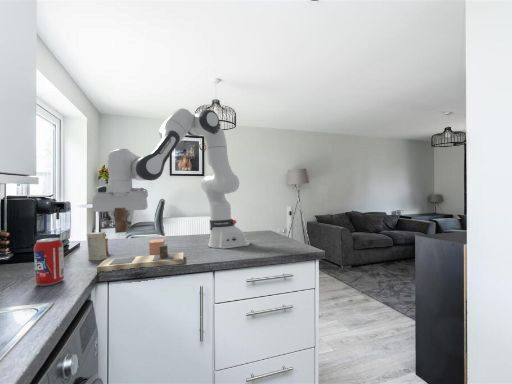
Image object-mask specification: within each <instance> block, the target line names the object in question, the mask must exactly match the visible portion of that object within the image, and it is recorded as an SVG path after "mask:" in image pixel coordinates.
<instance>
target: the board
mask: <svg viewBox="0 0 512 384" xmlns="http://www.w3.org/2000/svg"><path fill="white" fill-rule="evenodd" d="M129 257H130V256H126V257H124V258H129ZM134 257H135V259H134V260H133V261H132V263H124V264H113V265H109V264H110V263H111V262H112V261H113V260H114V259H117V258H118V257H117V258H106V259H103V261H102V262H101V263H99V264H98V265H97V266H96V273H103V272H102V271H104V272H113V271H112V270H114V271H121V270H120V269H124V270H131V269H130V268H135V269H141V268H140V267H145V268H154V267H162V266H163V267H164V266H173V265H174V266H175V265H183V264H184V252H183V251H182V252H174V253H168V244H164V245H160V254H159V255H150V254H148V255H138V256H137V255H136V256H134ZM100 271H101V272H100Z"/></svg>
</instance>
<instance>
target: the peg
mask: <svg viewBox="0 0 512 384" xmlns="http://www.w3.org/2000/svg"><path fill="white" fill-rule="evenodd" d="M126 217H129V210H128V211H126V208H115V211H114V218H115V222H114V233H115V234H118V233H119V234H120V233H122V234H123V233H127V232H128V231H129V222H127V221H126V220H127V219H126Z"/></svg>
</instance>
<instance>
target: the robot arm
mask: <svg viewBox="0 0 512 384" xmlns="http://www.w3.org/2000/svg"><path fill="white" fill-rule="evenodd" d="M220 122H221V120H220V118H219V116H218V114H217V113H216V112H215V111H214V110H212V109H204V110H201V111H198V112H196V113H194V114H193V113H192V112H191V111H190V110H189V109H186V108H182V107H181V108H179V109H177V110H175V111H174V112H172V114H170V115H169V117H168V118H166V120H165V121H163V123H162V125H161V127H160V128H159V130H158V133H159V138H160V139H161V141H160V142H159V143H158V144H157V146H156V147H155V149H154V150H153V151H152V152H151V153H150V154H147V155H145V156H143V157H141V156H139V155H136V153H134V152H132V151H131V150H130V149H128V148H117V149H113V150H111V151H110V152H109V153H108V156H107V172H108V179H107V184H104V185H101V186H98V187H96V188H95V189H94V193H95V194H94V196H93V197H92V207H91V209H92V210H93V212H95V213H97V212H100V213H101V212H108V213H107V214H108V216H109V217H110V218H111V223H115V215H113V214H115V208H126V211H128V217H126V219H127V220H126V221H127V222H128V223H129V222H132V217H133V215H134V213H135V211H145V210H147V209H148V205H149V204H148V199H147V198H148V197H149V192H148V190H147V189H146V188H145V187H133V180H136V181H150V182H151V181H155V180H157V179H159V178H160V177H161V176H162V174H163V172H164V169H165V165H166V162H167V161H168V159H169V158H170V156H171V155H172V154H173V152H174V150H175V149H176V147H177V146H178V145H179V144H180V143H181V142H182V141H183V140H184V138H185V137H186V135H189V136H192V137H198V136H203V137H204V139H205V150H206V151H205V152H206V162H207V164H208V165H209V166H210V167H211V168H212V172H213V173H211V174H208V175H206V176H204V177H203V178H202V180H201V181H200V187H201V189H202V190H203V192H204V193H205V195H206V198H207V200H208V203H209V215H210V216H209V217H210V219H209V230H210V231H209V233H210V234H209V241H208V244H207V246H208V247H209V248H215V249H216V248H217V249H223V250H224V249H231V248H239V247H246V246H250V245H251V243H250V241H249V240H247V239H246V235H245V232H244V231H243V230H241V229H240V228H239V227H238V226H236V224H237V220H236V219H232V216H231V215H232V212H231V210H232V209H231V203H230V202H229V201H228V200H227V198H226V196H225V194H226V195H228V194H232V193H234V192H236V191H237V190H239V186H240V179H239V177H238V176H237V175H236V174H235V173H234V171H233V170H232V167H231V165H230V162H229V156H228V148H227V147H228V146H227V145H228V144H227V139H226V135H225V131H224V129H223V128H221V123H220Z"/></svg>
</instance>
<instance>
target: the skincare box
mask: <svg viewBox="0 0 512 384" xmlns="http://www.w3.org/2000/svg"><path fill="white" fill-rule="evenodd" d="M105 234H106V232H105V231H103V232H101V231H100V232H90V233H87V234H86V237H87V238H86V239H87V253H88V261H102V260H105V259H107V254H106V241H105V238H106V237H105Z"/></svg>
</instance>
